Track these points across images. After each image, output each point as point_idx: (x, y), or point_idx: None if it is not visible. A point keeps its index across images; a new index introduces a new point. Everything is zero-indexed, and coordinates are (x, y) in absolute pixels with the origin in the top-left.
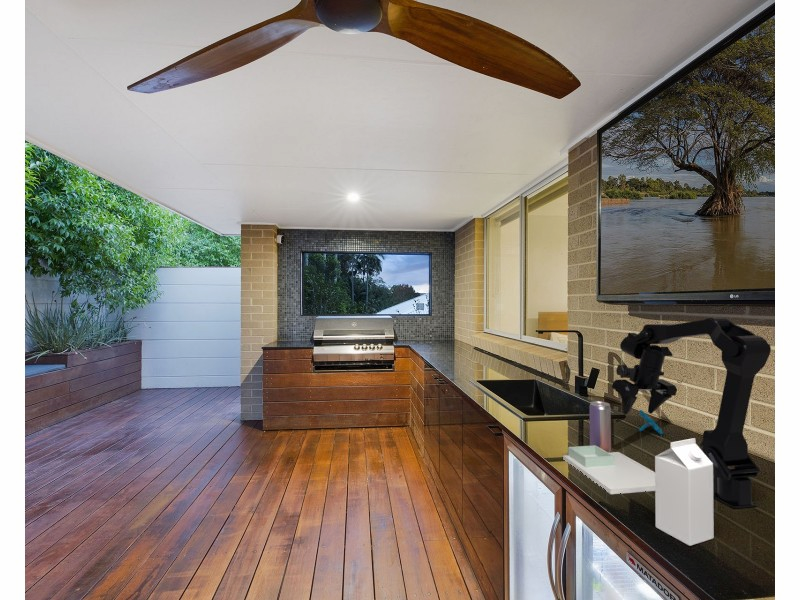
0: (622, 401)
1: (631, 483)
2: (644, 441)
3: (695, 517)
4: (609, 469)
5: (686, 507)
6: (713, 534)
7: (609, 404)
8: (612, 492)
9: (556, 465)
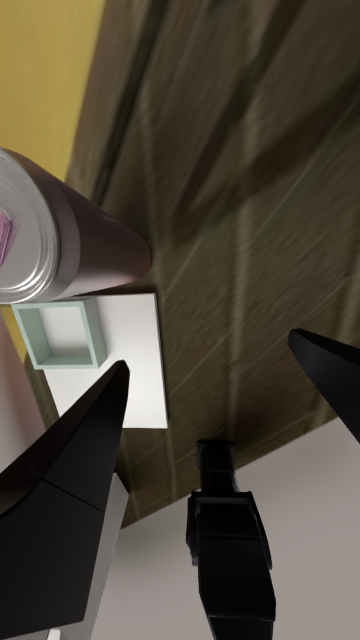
0: (53, 432)
1: None
2: (303, 188)
3: None
4: (89, 372)
5: None
6: (127, 499)
7: (47, 272)
8: None
9: (10, 323)
